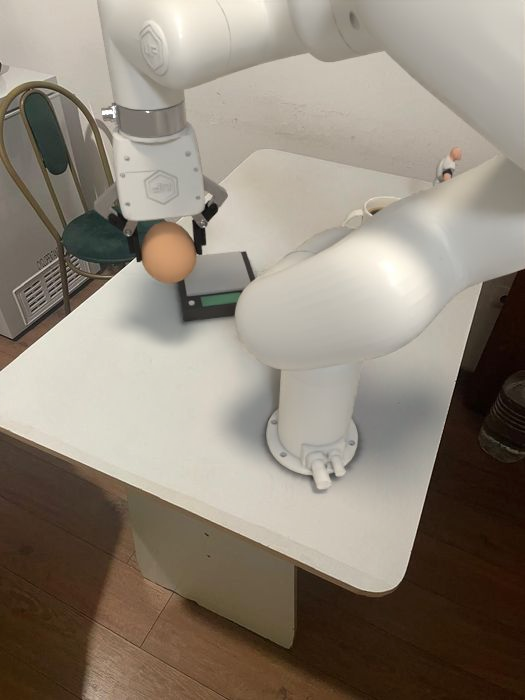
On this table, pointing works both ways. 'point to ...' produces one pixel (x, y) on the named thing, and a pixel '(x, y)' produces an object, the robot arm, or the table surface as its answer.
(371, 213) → the mug
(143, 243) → the egg
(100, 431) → the table surface
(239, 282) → the scale
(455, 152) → the figurine
